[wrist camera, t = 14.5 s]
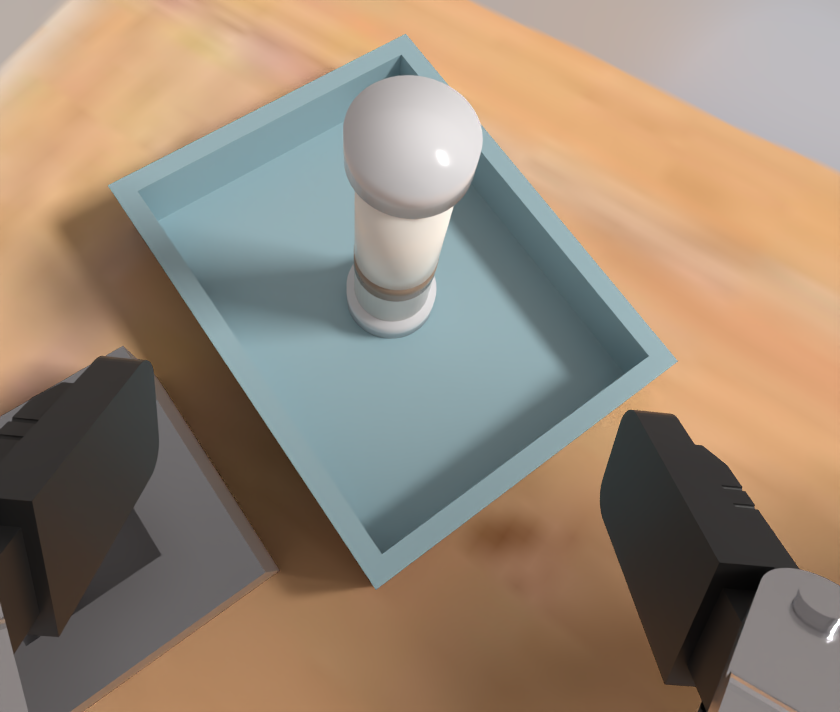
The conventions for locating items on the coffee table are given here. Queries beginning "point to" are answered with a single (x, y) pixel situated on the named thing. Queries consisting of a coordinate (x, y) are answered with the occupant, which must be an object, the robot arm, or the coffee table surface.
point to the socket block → (149, 575)
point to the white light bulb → (404, 195)
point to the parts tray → (380, 357)
